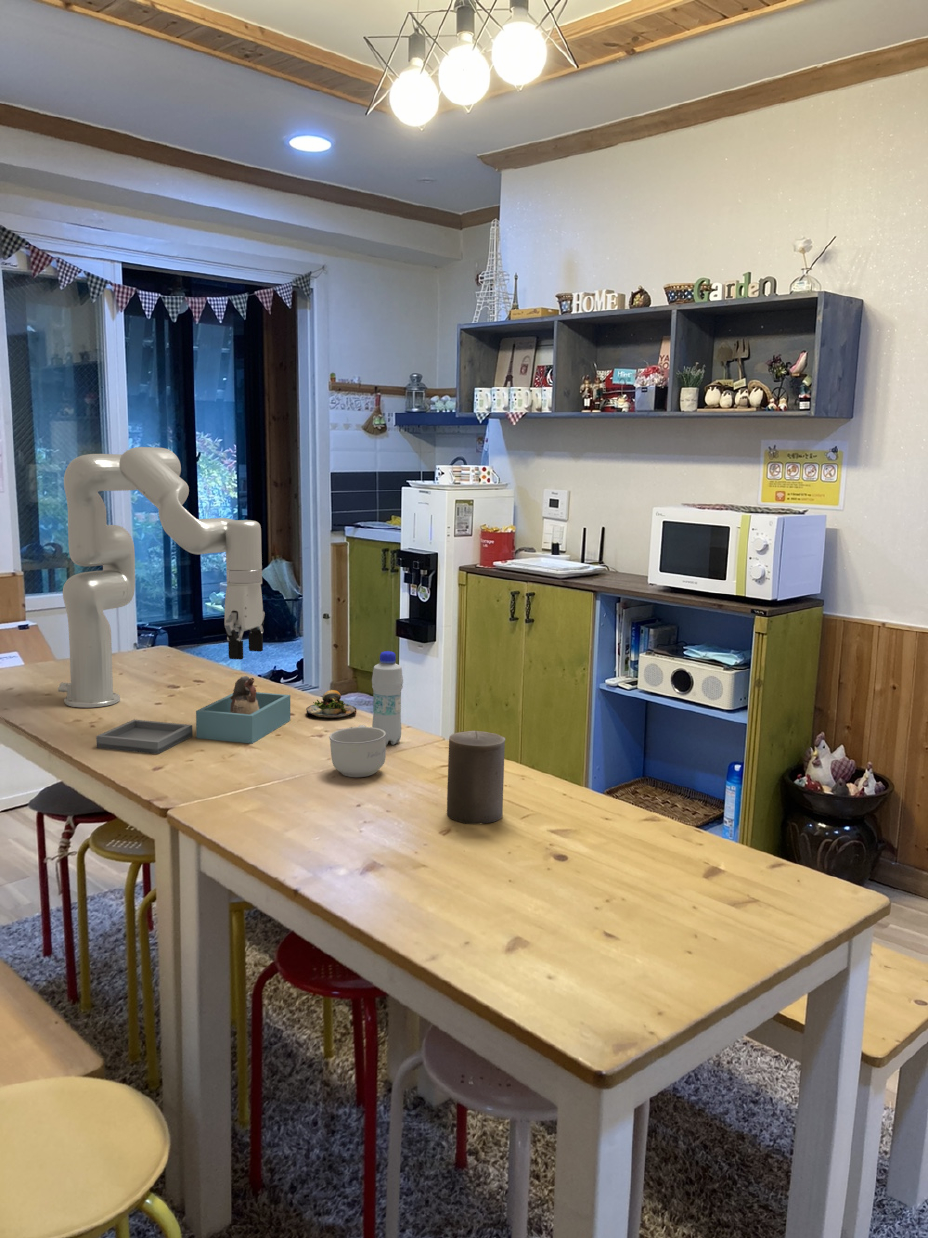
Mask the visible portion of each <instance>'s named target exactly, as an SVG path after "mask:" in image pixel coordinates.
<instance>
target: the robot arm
mask: <svg viewBox="0 0 928 1238" xmlns="http://www.w3.org/2000/svg"><path fill="white" fill-rule="evenodd" d="M181 466H182V465H181V461H180V459H179V457H178V456H177V454H175V453H174V452H173V451H171V450H170V449H168V448H165V447H155V446H154V447H152V446H150V447H149V446H138V447H132V448H129V449H128V450H126V451H125V452H123V453H122V454H118V453H115V454H113V453H112V454H110V453H90V454H82V455H79V456H77V457H75V458H73V459H72V460H70V462H69V463H68V465H67V467H66V469H65V471H64V475H63V476H64V477H63V488H64V493H65V498H66V504H67V532H68V533H67V534H68V541H67V542H68V553H69V557H70V560H71V561H72V562H73V564H75V565H77V566H80V567H99V566H102V570H94V571H93V570H91V571H85V572H80V573H76V574H73V575H72V576H70V577H69V578H68V579H67V580H66V581H65V582H64V584H63V588H62V599H63V602H64V606H65V607H64V608H65V612H66V617H67V622H68V623H67V624H68V625H67V626H68V641H69V642H68V644H69V647H68V648H69V668H70V669H69V670H70V674H69V675H70V682H64V681H63V682H61V683H60V684H59V686H58V688H57V691H58V692H60V693H66V697H64V699H63V700H64V704H65V705H66V706H69V707H72V708H84V709H85V708H86V709H88V708H100V707H108V706H111V705H115V704H118V703H119V702H120V700H121V696H120V694H118V693H117V692H114V688H113V687H114V683H113V681H114V680H113V678H114V677H113V654H112V653H113V652H112V651H113V648H112V630H111V625H110V622H109V620H108V619H107V617H106V615H105V613H104V611H106V610H112V609H118V608H122V607H125V606H127V605H128V604H129V603H131V602H132V600H133V598H134V595H135V591H136V590H135V589H136V575H135V573H136V568H135V567H136V565H135V563H136V559H135V558H136V557H135V555H136V554H135V553H136V552H135V544H134V541H133V538H132V536H131V534H130V532H129V531H128V530H127V529H126V528H124V527H123V526H120V525H117V524H107V507H106V504H105V502H104V500H103V498H102V497H101V495H100V493H99V492H103V491H104V492H105V491H106V492H109V491H110V492H112V491H113V492H116V491H117V492H118V491H124V492H125V491H127V492H128V491H138V492H140V493H141V494H142V495H143V496H144V497H145V498H146V499H147V500H148V501H149V502H150V503H151V504H152V505H153V506H155V507H156V508H157V510H158V517H159V521H160V524H161V526H162V528H163V531H164V532H165V533H166V534H167V535H168V537H170V538H171V539H172V541H174V542H175V543H176V544H177V545H178V546H179V547H181V549H183V550H185V551H186V552H188V553H190V554H193V555H206V554H217V553H225V560H226V561H225V563H226V567H225V568H226V589H225V596H224V628H225V635H226V636H227V637H226V640H227V641H228V643H227V644H228V645H227V646H228V659H229V660H241V661H242V660H243V659H244V640H242V639H243V635H244V632H246V631H249V632H248V650H249V651H250V652H263V651H264V641H263V640H264V638H263V636H264V635H263V633H264V624H265V621H264V620H265V616H266V615H265V614H266V613H265V611H264V607H263V605H264V604H263V596H262V595H263V594H262V593H263V592H262V585H263V565H262V563H263V561H262V560H263V559H262V558H263V557H262V554H263V553H262V528H261V527H262V526H261V524H260V523H259V522H258V521H256V520H251V519H243V520H242V519H239V520H238V519H237V520H235V519H232V518H226V517H215V518H213V517H212V518H196V517H195V516H194V515H192V514H191V513H190V512H189V510H187V509H186V508H185V507H184V506H183V505H184V504H185V502H186V501H187V498H188V496H189V492H190V489H189V488H190V487H189V485H188V483H187V482H186V481H185V480H184V479H183V478H182V477H180V476H181V472H182V467H181ZM237 632H238V633H237Z"/></svg>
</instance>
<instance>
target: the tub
mask: <svg viewBox="0 0 928 1238" xmlns="http://www.w3.org/2000/svg"><path fill="white" fill-rule="evenodd" d="M232 695H233V692H232V693H230V694H227V695H226V696H224V697H222V698H220V699H218V700H216V701H214V702H212V703H209V704H208V705H205V706H203V707H201V708H200V709H198V710H195V721H196V722H195V724H196V726H195V731H196V732H195V733H196V734H195V735H196V739H199V740H200V739H201V740H211V741H212V740H213V741H220V742H221V741H222V742H233V743H242V744H254V743H256V742H257V741H259V740H260V739H262V738H264V737H266V736H267V735H269V734H271V733H272V732H275V731H276V730H277V729H279V728H280V727H283V725H285V724H287V723H289V722H291V695H290V694H282V693H281V694H280V693H269V692H268V693H267V692H260V691H259V692H258V691H256V699H257V701H258V705H259V710H257V711H256V712H254V713H252V714H250V715H249V714H239V713H230V706H231V702H232V699H230V697H231V696H232Z"/></svg>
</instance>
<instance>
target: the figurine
mask: <svg viewBox="0 0 928 1238" xmlns="http://www.w3.org/2000/svg"><path fill="white" fill-rule="evenodd" d="M254 683H255V678H254V677H249V676H247V675H246V676H241V677H239V679H237V680H236V681H235V683H234V688H233V691H232V693H233V695H232V696H231V697H230V699H232V702H231V706H230V713H239V714H249V715H250V714H252V713H254V712H256V711H257V710H259V705H258V701H257V699H256V692H257V689H256V687H255V685H254Z"/></svg>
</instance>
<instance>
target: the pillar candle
mask: <svg viewBox="0 0 928 1238" xmlns="http://www.w3.org/2000/svg"><path fill="white" fill-rule="evenodd" d="M505 741H506V737H504V736H502V735H500V734H497V733H492V732H488V731H480V730H479V731H478V730H469V731H467V730H466V731H460V732H456V733H452V734H451V735H449V738H448V758H447V759H448V761H447V787H446V789H447V792H446V793H447V795H446V814H447V817H448V818H450V819H451V820H453V821H456V822H459V823H461V824H465V825H482V824H491V823H495V822H497V821H499V820H501V819H502V818H503V811H504V809H503V807H504V805H503V804H504V784H505V783H504V779H505V778H504V777H505V776H504V774H505V746H506V745H505V743H506V742H505Z"/></svg>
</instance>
